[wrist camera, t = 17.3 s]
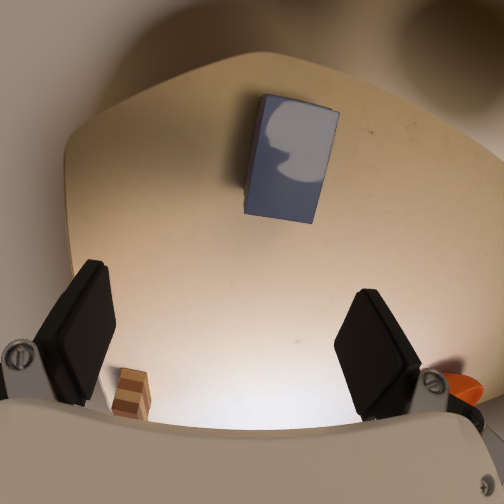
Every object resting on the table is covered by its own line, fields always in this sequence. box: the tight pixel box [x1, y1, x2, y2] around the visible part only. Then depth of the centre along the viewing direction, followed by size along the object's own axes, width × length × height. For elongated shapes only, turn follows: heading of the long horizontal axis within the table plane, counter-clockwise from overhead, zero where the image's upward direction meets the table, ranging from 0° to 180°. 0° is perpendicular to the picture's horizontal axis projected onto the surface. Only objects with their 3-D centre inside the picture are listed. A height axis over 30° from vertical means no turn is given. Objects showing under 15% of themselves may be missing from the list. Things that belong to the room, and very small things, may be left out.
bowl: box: [442, 373, 484, 406], centre depth 52 cm, size 25×25×10 cm
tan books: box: [111, 368, 151, 421], centre depth 43 cm, size 10×4×9 cm, turn 170°
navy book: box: [243, 95, 340, 224], centre depth 23 cm, size 10×6×2 cm, turn 170°
